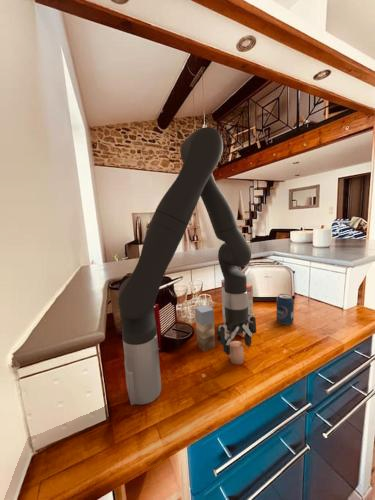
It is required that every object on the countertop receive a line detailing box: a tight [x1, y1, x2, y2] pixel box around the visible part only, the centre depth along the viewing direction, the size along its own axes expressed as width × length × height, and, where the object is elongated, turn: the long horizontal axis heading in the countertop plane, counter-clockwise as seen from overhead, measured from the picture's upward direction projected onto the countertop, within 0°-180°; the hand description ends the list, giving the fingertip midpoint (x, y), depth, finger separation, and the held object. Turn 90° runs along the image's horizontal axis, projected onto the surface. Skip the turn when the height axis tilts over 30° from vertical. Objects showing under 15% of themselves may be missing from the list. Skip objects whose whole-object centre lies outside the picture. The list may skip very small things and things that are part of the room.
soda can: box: [276, 293, 295, 325], centre depth 95 cm, size 7×7×12 cm
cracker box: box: [221, 278, 254, 338], centre depth 90 cm, size 14×6×21 cm, turn 25°
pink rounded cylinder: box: [229, 340, 245, 365], centre depth 71 cm, size 5×5×6 cm
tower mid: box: [195, 320, 216, 339], centre depth 79 cm, size 5×5×5 cm
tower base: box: [196, 333, 216, 352], centre depth 80 cm, size 5×5×5 cm
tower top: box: [194, 304, 215, 326], centre depth 79 cm, size 5×5×5 cm
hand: (237, 349), depth 71 cm, fingers open, 8 cm apart
